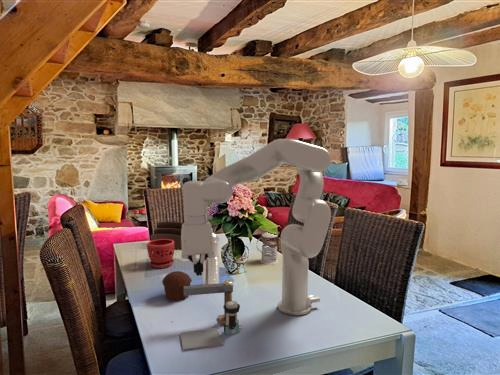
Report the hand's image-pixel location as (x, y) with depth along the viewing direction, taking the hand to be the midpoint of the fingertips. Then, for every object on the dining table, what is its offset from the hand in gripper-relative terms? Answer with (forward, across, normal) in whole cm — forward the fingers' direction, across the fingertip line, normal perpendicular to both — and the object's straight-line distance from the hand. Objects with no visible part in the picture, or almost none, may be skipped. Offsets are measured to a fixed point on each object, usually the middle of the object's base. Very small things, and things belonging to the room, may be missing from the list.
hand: (198, 274), depth 126 cm
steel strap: (+8, -3, -3) cm, 9 cm away
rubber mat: (+18, +1, +8) cm, 20 cm away
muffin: (+19, +5, -27) cm, 33 cm away
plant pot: (+19, +9, -68) cm, 71 cm away
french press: (+20, -44, -60) cm, 77 cm away
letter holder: (+19, +3, -100) cm, 102 cm away
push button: (+19, -10, +6) cm, 22 cm away
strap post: (+19, -10, -2) cm, 21 cm away
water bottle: (+19, -10, -35) cm, 41 cm away
